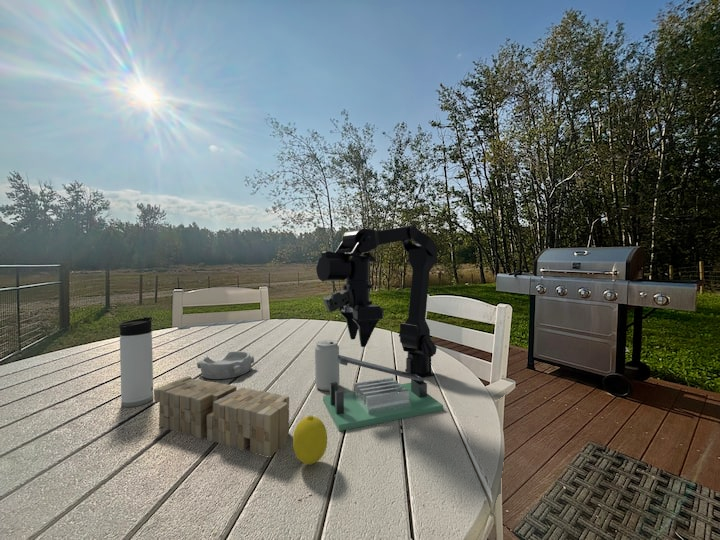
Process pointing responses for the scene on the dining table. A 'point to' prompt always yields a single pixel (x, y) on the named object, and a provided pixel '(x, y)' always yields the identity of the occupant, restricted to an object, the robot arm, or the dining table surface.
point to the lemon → (310, 440)
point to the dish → (226, 365)
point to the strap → (377, 368)
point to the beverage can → (326, 364)
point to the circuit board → (359, 416)
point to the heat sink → (378, 395)
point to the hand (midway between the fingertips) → (357, 342)
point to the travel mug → (136, 362)
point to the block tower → (225, 414)
